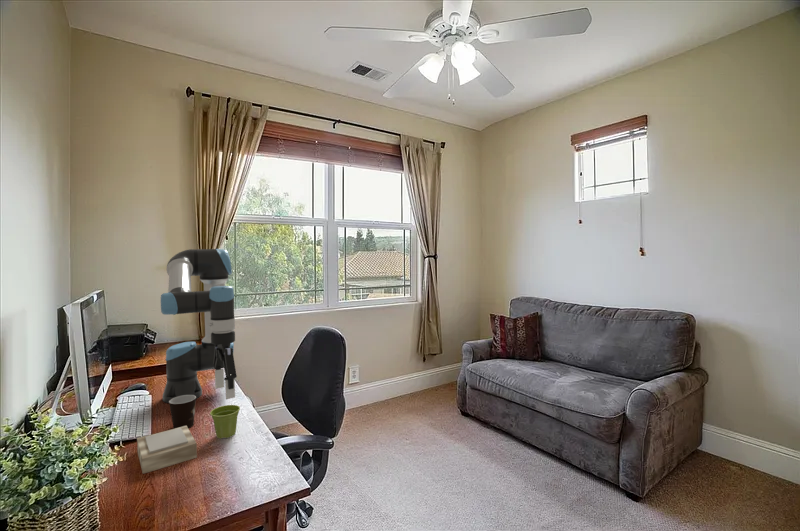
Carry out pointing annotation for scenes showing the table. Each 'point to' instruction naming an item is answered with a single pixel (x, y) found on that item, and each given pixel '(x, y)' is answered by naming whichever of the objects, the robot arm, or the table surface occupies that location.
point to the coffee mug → (183, 410)
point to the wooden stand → (166, 448)
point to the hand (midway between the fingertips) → (224, 392)
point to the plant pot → (225, 420)
